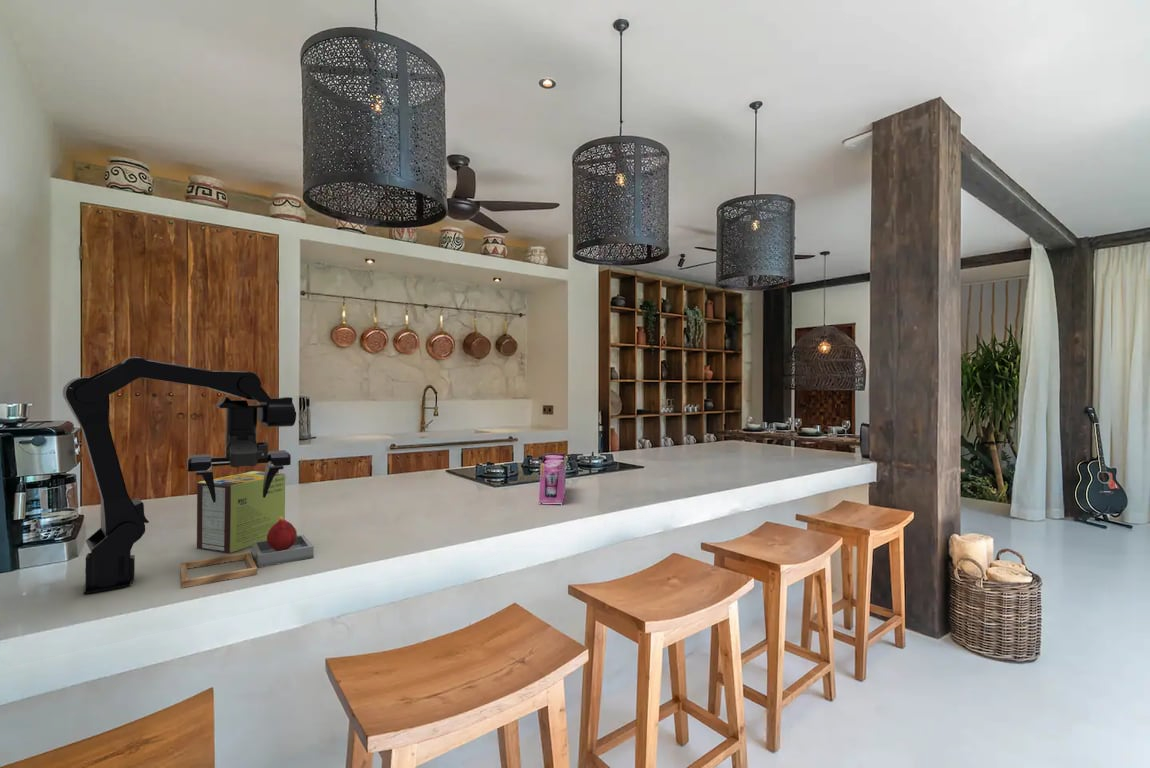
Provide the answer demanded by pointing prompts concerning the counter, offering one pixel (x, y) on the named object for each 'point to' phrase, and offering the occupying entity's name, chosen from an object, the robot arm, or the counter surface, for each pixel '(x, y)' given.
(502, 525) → the counter surface
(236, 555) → the brown wooden frame
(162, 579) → the counter surface
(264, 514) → the protein box
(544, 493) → the gum box
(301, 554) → the dish
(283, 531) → the onion
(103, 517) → the robot arm
